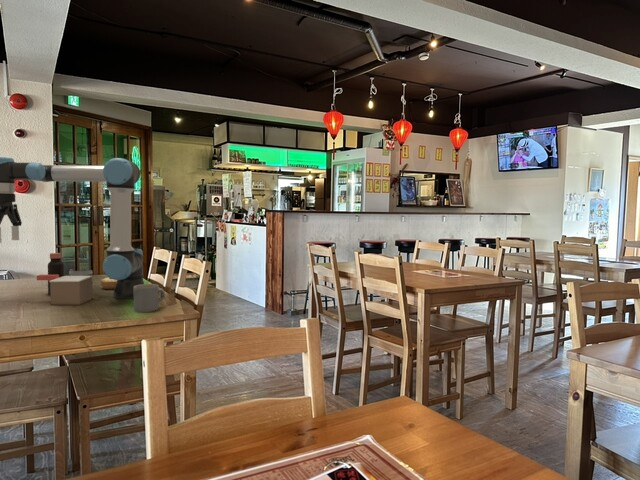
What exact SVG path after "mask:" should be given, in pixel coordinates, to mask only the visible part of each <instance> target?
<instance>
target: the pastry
mask: <svg viewBox="0 0 640 480" xmlns="http://www.w3.org/2000/svg"><path fill="white" fill-rule="evenodd" d="M116 283H117V280H114V279H111V278H109V277H108V276H107V277H105V278H102V279H101V280H100V285H101V287H102V289H103V290H111V291H112V290H113V291H114V289H115V286H116Z"/></svg>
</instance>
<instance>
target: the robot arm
mask: <svg viewBox="0 0 640 480" xmlns="http://www.w3.org/2000/svg"><path fill="white" fill-rule="evenodd" d="M140 178H141V169H140V167H139V166H138V165H137V164H136V163H135V162H134V161H131V160H128V159H126V158H123V157H122V158H121V157H114V158H111V159H108V161H106V162H105V164H104V165H70V164H69V165H65V164H63V165H58V164H57V165H55V164H54V165H51V164H49V165H48V164H44V165H43V164H42V163H41V162H33V161H32V162H15V159H14V158H13V157H6V156H5V157H4V156H0V225H1V223H2V222H3V219H4V217H5V216H7V217H8V219H9V221H10V223H11V240H12V241H20V227H21V226H22V219H21V216H20V213H19V210H18V204H16V203H15V202H16V194H15V193H16V181H17V180H19V181H21V180H23V181H36V182H37V181H38V182H43V183H50V182H76V183H77V182H86V183H88V182H90V183H91V182H99V183H100V182H103V183H104V182H106V189H107V191H109V193H110V194H109V195H110V198H109V199H110V202H109V204H110V205H109V207H110V208H109V209H110V211H109V214H110V215H109V219H110V220H109V221H110V222H109V225H110V227H109V244H110V245H109V246H108V248H106V255H105V256H106V258H105V259H104V260H103V263H102V270H103V273H104V274H105V275H106V276H107V277H109V278H111V279H114V280H117V283H116V286H115V289H114V290H113V293H112V294H113V298H115V299H123V300H124V299H134V295H133V287H134V286H136V285H141V284H146V283H145V280H144V264H143V263H144V258H143V257H144V255H143V253H144V252H143V250H142V249H140V248H134V247H133V246H132V193H133V192H134V191H135V189H136V184H137V183H138V181H140ZM0 243H2V227H0Z"/></svg>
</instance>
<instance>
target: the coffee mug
mask: <svg viewBox="0 0 640 480" xmlns="http://www.w3.org/2000/svg"><path fill="white" fill-rule="evenodd" d="M159 286H160V285H158V284H157V283H156V284H154V283H145V284H141V285H136V286H134V287H133V295H134V298H133V311H134V312H135V313H137V312H138V313H150V312H155V310H156V311H157V310H159V309H160V303H161V302H162V301H163V300H164V299H165V297H166V296H165V294H166V293H165V292H166V291H165V290H164V288H161V287H159ZM159 292H160V294H159ZM159 295H160V296H159Z"/></svg>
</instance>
